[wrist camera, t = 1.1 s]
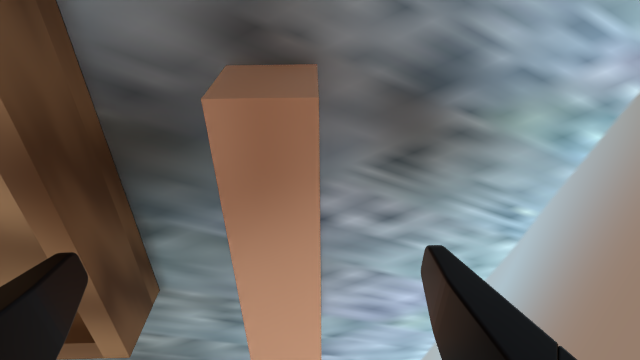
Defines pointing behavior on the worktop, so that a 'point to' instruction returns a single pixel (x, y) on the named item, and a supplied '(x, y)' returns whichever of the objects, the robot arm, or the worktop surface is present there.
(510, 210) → the worktop surface
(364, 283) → the worktop surface
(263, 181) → the clay strip
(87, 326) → the wooden open tray
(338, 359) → the worktop surface
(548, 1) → the worktop surface
